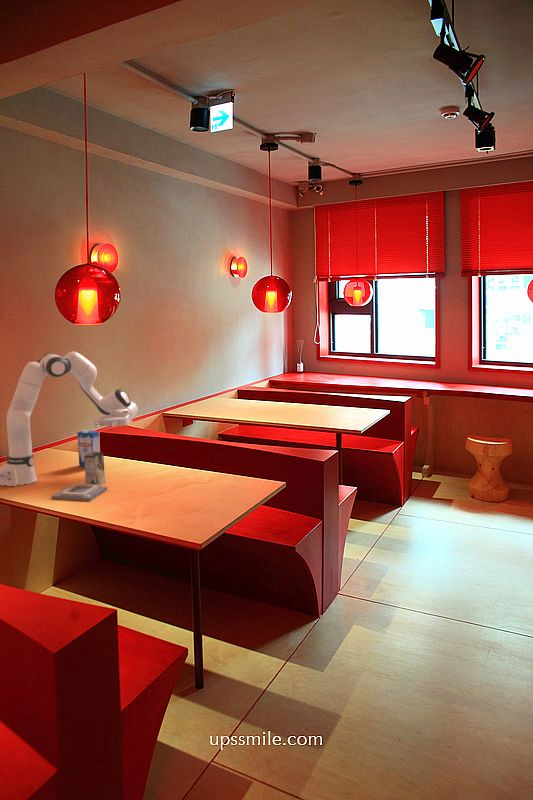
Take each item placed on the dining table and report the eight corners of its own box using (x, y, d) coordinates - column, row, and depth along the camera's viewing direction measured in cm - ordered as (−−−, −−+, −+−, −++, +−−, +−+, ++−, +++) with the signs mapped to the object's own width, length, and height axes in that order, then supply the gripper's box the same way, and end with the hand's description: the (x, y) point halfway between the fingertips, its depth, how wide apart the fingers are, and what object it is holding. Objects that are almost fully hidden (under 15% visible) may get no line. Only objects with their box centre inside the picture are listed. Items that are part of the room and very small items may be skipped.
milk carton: (79, 466, 349) (77, 432, 346) (85, 463, 355) (83, 430, 352) (94, 468, 346) (92, 433, 343) (100, 465, 352) (98, 431, 349)
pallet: (51, 498, 293) (51, 493, 292) (70, 487, 310) (70, 482, 310) (90, 501, 289) (90, 495, 288) (107, 489, 306) (107, 484, 306)
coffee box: (93, 481, 320) (92, 451, 317) (105, 482, 319) (103, 452, 316) (85, 486, 311) (83, 456, 308) (97, 487, 310) (95, 456, 307)
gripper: (100, 412, 337) (85, 421, 324) (132, 411, 330) (119, 419, 317) (103, 423, 338) (88, 432, 326) (135, 422, 331) (121, 431, 319)
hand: (103, 426), depth 322 cm, fingers open, 8 cm apart
